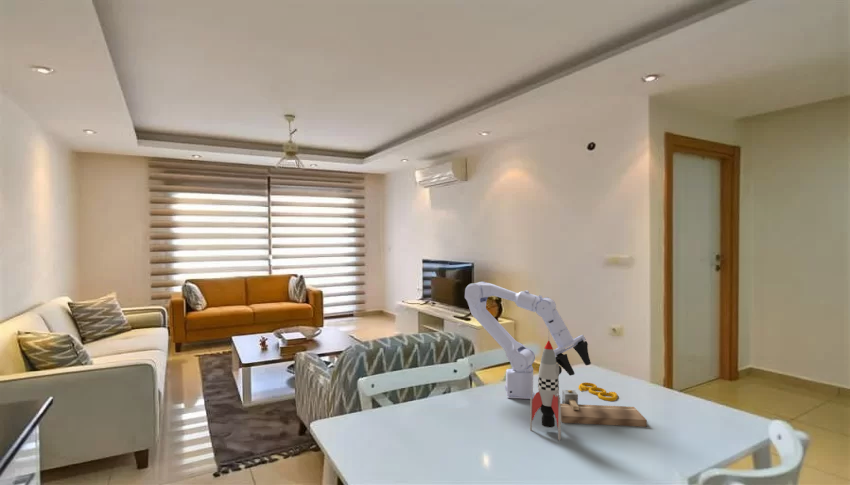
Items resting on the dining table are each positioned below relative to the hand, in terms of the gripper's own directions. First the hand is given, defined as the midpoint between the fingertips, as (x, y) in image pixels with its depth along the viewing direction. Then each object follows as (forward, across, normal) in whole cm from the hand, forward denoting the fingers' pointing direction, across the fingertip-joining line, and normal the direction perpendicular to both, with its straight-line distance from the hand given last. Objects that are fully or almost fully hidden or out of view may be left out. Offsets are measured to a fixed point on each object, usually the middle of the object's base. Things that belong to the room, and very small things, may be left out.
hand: (580, 369), depth 143 cm
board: (+14, -6, -4) cm, 15 cm away
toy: (+8, -26, -8) cm, 29 cm away
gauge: (+9, -9, +2) cm, 13 cm away
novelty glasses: (+12, +10, +13) cm, 21 cm away
